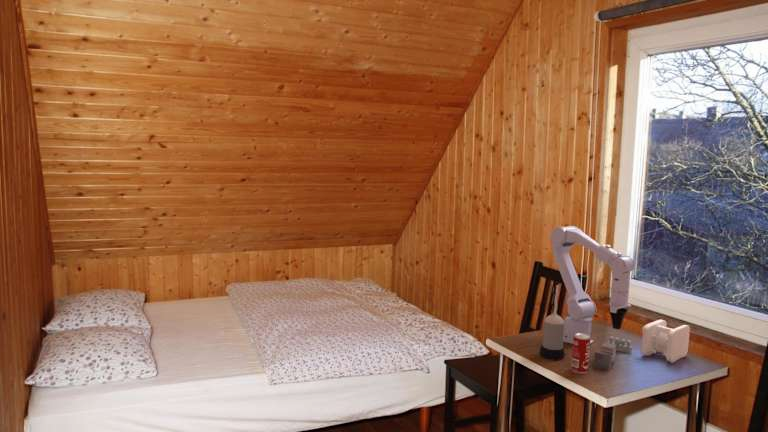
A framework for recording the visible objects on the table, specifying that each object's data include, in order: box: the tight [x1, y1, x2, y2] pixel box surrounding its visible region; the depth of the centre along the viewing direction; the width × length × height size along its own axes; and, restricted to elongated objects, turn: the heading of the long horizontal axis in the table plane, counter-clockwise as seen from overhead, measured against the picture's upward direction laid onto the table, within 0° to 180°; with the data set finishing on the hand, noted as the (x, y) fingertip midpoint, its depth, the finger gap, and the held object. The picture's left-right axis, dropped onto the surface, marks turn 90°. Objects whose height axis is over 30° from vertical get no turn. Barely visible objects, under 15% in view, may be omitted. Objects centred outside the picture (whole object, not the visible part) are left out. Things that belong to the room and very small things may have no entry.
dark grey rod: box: [600, 340, 622, 353], centre depth 204 cm, size 21×4×4 cm, turn 144°
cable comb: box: [607, 335, 633, 354], centre depth 212 cm, size 2×8×4 cm, turn 55°
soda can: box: [570, 333, 591, 375], centre depth 190 cm, size 5×5×12 cm
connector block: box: [593, 349, 613, 371], centre depth 195 cm, size 3×5×5 cm, turn 54°
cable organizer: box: [640, 319, 691, 364], centre depth 207 cm, size 15×11×12 cm
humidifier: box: [539, 284, 566, 361], centre depth 203 cm, size 8×8×25 cm
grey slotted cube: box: [600, 342, 617, 363], centre depth 199 cm, size 4×4×5 cm
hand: (616, 328), depth 207 cm, fingers closed
